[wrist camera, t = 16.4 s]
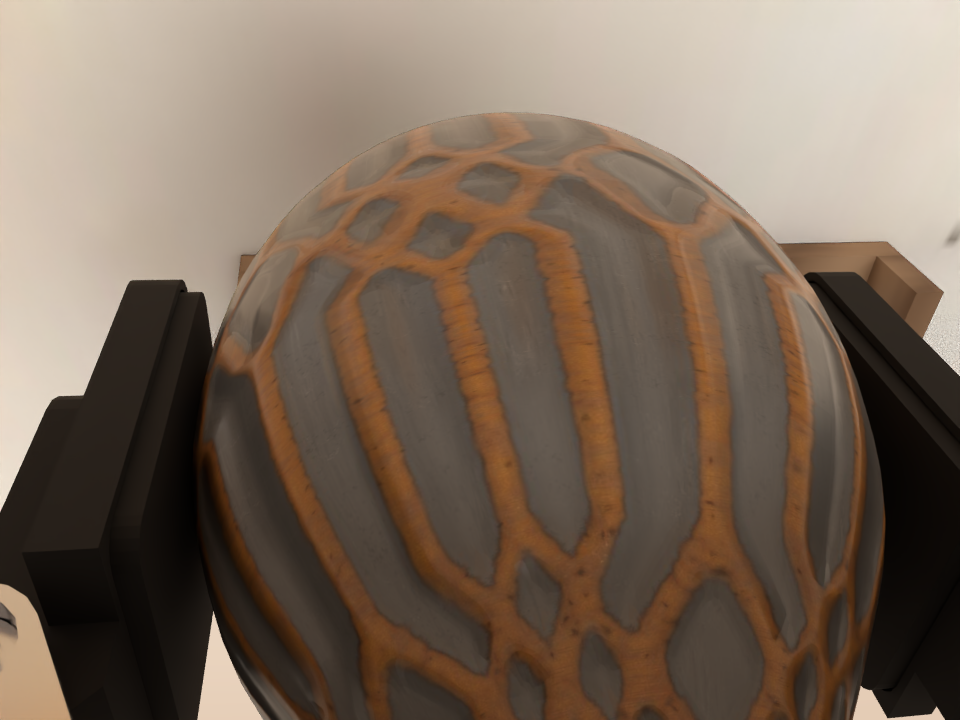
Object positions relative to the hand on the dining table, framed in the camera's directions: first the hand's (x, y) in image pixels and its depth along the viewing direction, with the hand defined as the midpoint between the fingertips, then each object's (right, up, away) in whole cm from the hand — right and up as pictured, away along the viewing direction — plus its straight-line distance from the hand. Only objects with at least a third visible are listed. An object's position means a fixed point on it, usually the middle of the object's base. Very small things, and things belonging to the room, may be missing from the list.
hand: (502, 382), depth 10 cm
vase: (0, +1, +2) cm, 3 cm away
